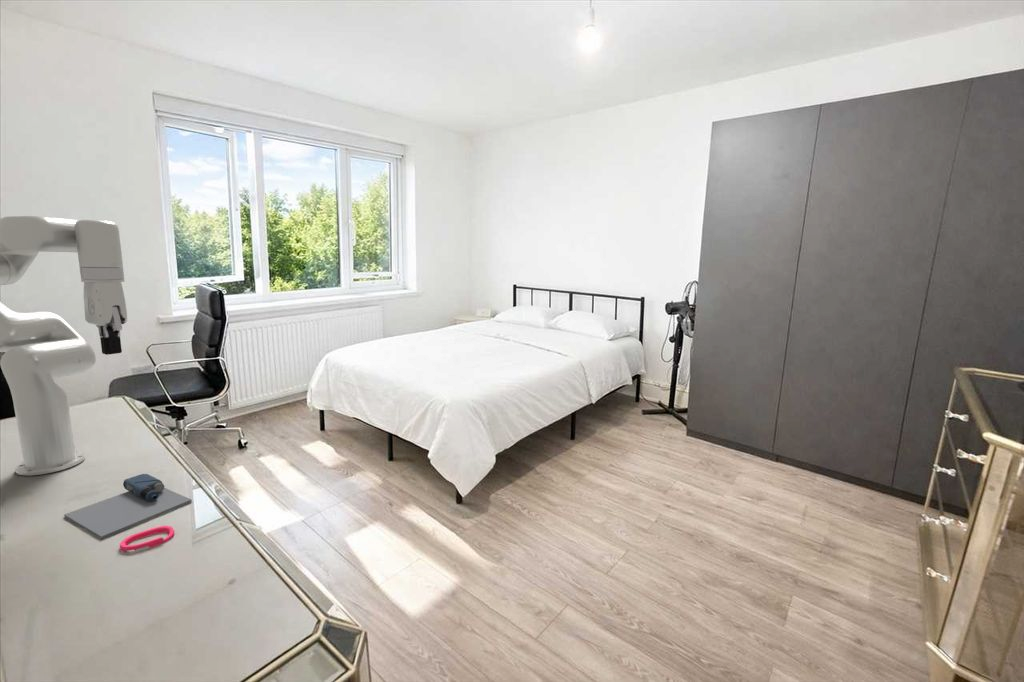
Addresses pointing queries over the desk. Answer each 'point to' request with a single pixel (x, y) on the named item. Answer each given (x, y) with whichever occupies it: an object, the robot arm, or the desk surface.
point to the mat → (124, 512)
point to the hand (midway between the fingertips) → (112, 353)
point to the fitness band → (149, 543)
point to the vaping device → (144, 486)
